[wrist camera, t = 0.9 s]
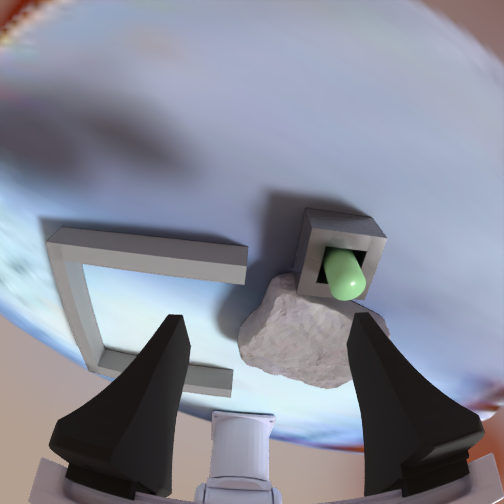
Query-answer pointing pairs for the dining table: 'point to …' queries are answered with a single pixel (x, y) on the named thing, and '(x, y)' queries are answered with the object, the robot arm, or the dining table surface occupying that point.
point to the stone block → (301, 335)
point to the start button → (343, 273)
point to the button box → (335, 235)
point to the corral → (140, 260)
